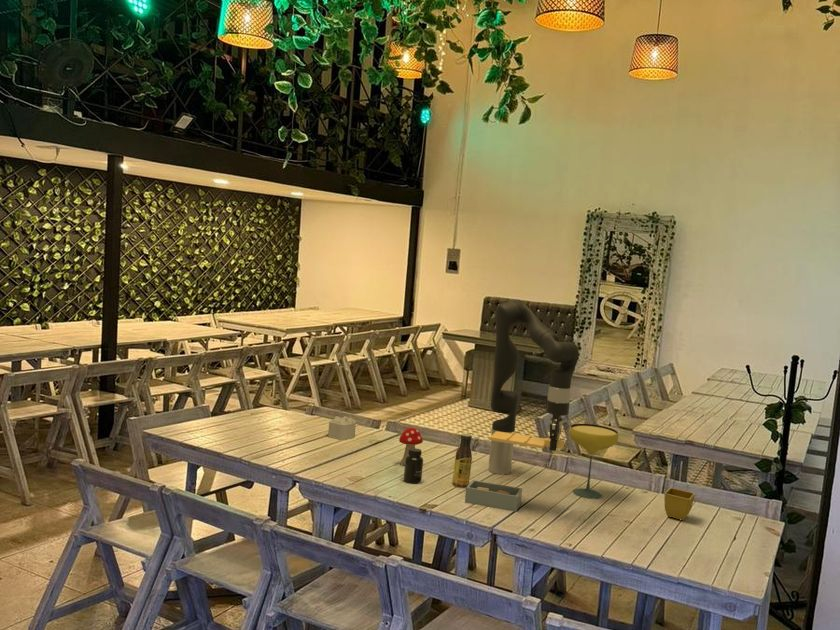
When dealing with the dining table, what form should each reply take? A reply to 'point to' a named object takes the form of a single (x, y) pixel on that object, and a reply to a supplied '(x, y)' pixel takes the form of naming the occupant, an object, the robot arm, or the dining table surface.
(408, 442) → the decorative mushroom
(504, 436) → the lid
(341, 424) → the grey studded block
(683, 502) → the flower pot
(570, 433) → the cocktail glass
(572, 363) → the robot arm
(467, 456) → the sauce bottle
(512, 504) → the tub
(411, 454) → the supplement bottle
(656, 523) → the dining table surface
